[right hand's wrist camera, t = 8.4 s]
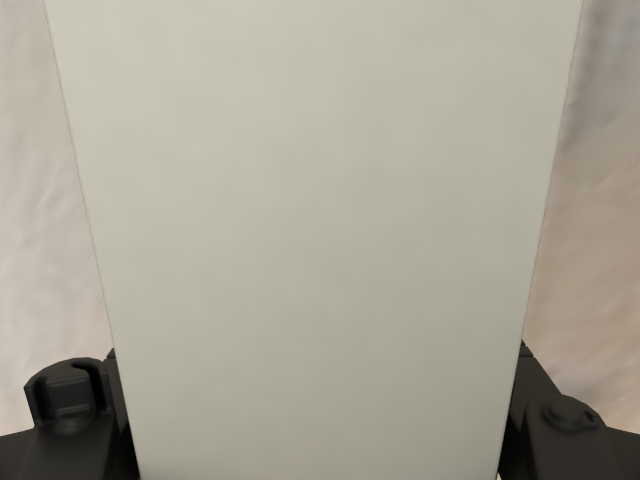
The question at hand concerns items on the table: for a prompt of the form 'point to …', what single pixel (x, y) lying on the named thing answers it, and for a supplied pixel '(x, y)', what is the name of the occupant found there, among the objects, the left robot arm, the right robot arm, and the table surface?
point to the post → (315, 223)
